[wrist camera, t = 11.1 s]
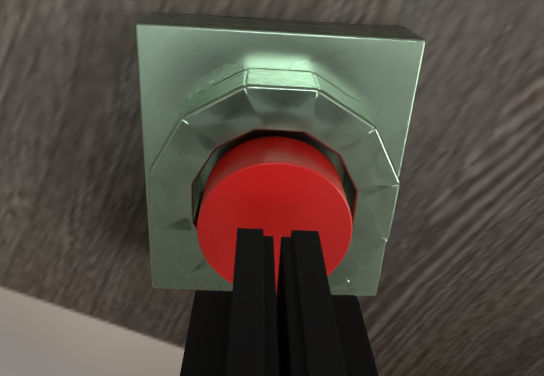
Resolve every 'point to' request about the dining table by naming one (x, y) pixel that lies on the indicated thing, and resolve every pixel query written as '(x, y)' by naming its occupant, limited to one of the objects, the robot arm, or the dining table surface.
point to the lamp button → (273, 201)
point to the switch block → (271, 124)
